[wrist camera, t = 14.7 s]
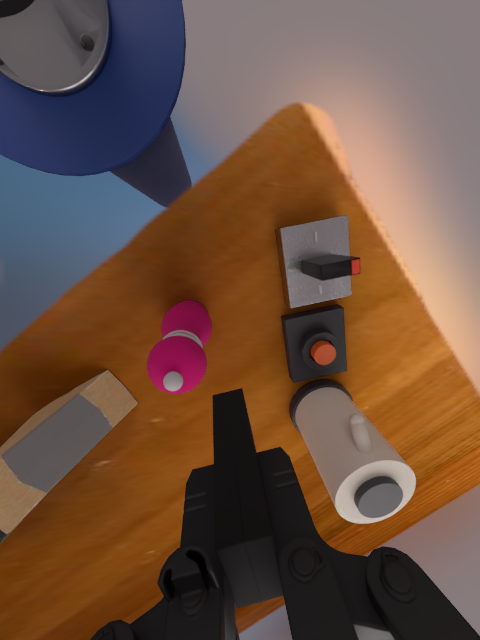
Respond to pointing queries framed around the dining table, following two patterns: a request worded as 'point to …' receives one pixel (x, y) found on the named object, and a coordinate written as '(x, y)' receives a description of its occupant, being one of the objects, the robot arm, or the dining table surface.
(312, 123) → the dining table surface
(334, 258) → the black switch lever
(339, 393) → the kettle
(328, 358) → the red push button
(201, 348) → the pepper mill
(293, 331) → the push button box
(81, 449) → the sandwich container
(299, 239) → the lever switch base
